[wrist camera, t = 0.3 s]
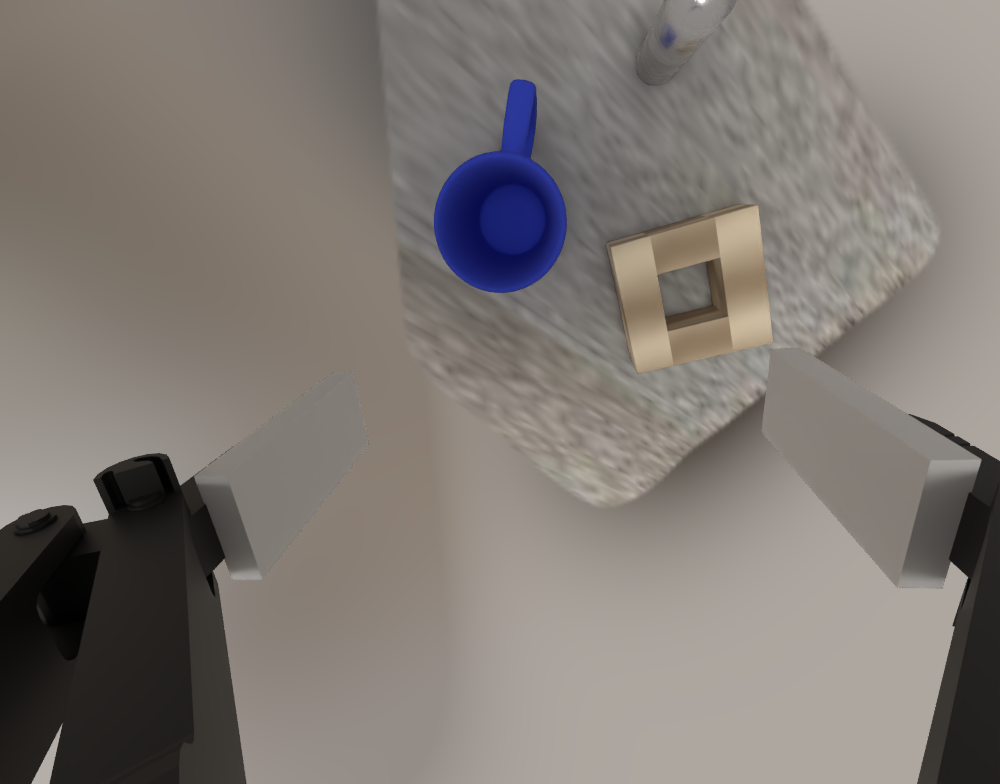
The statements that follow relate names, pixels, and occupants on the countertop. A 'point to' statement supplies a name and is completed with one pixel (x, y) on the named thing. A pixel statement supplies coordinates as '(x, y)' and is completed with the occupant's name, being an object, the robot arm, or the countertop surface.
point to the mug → (502, 208)
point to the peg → (678, 36)
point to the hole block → (732, 277)
